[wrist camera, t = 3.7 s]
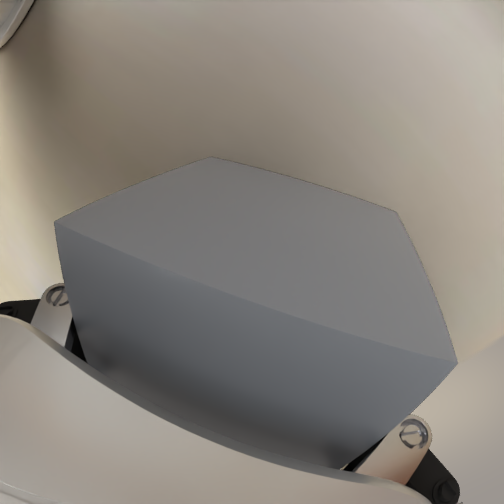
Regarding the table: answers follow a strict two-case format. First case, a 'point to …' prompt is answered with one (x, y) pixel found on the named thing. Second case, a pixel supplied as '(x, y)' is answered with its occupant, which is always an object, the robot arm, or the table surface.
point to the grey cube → (257, 307)
